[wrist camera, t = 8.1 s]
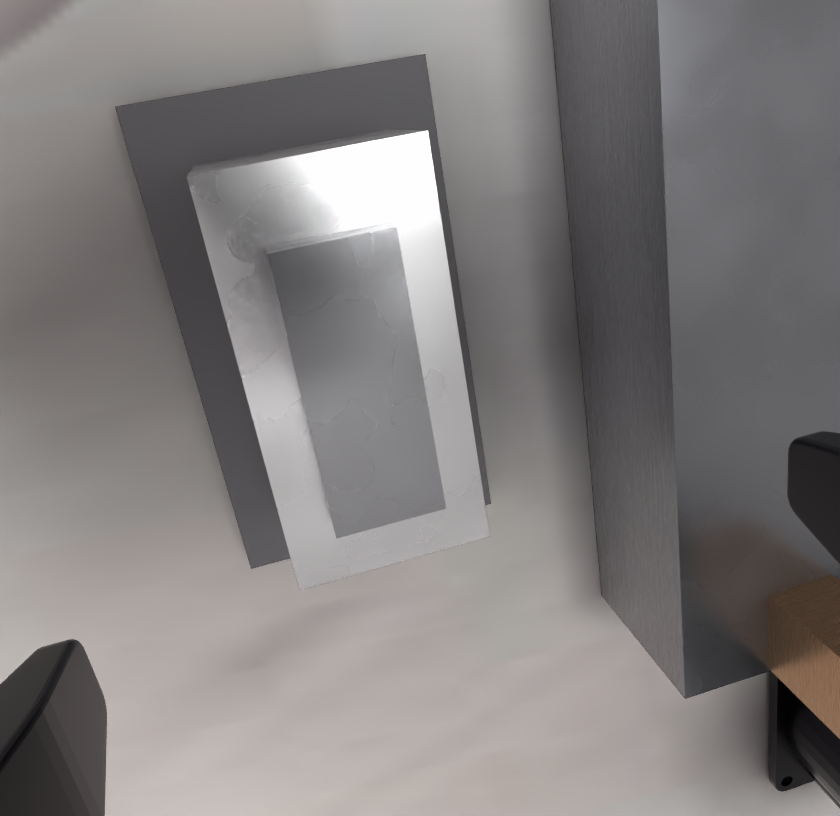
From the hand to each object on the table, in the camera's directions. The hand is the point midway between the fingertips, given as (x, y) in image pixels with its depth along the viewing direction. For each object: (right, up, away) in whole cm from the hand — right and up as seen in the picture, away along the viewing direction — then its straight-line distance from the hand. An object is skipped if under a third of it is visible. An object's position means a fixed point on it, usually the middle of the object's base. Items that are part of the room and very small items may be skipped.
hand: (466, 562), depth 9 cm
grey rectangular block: (-3, +4, +10) cm, 11 cm away
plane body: (+7, +7, +12) cm, 16 cm away
